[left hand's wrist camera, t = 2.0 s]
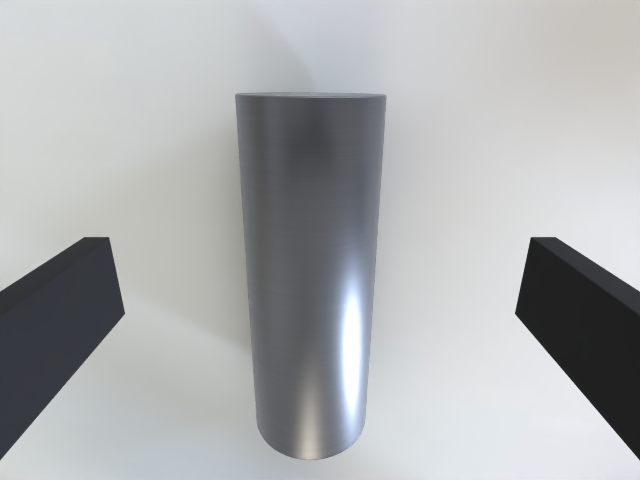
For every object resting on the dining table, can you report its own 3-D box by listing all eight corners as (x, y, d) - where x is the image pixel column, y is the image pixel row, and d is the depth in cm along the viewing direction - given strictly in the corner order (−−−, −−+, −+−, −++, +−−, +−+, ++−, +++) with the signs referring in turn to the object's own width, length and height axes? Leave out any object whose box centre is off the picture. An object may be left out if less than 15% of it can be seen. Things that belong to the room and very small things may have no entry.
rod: (249, 92, 28) (218, 95, 19) (376, 93, 28) (398, 96, 19) (264, 375, 37) (247, 459, 28) (360, 376, 37) (371, 461, 28)
